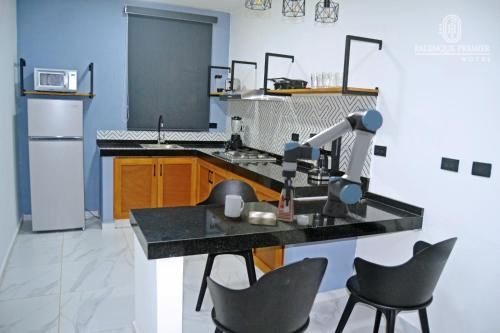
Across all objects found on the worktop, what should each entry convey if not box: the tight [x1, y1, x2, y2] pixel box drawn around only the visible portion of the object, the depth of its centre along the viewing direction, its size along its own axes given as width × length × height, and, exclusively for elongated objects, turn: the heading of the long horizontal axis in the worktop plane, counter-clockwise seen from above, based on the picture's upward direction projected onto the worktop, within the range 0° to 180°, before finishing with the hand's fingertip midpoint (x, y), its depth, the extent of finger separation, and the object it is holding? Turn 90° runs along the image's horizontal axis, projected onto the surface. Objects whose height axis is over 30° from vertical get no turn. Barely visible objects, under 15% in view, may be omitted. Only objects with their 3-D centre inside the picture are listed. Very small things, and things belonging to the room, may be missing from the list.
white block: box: [296, 214, 310, 226], centre depth 222 cm, size 6×6×4 cm
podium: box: [248, 211, 277, 226], centre depth 221 cm, size 14×14×3 cm
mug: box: [224, 194, 245, 218], centre depth 229 cm, size 9×12×11 cm
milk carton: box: [275, 187, 295, 222], centre depth 229 cm, size 9×9×20 cm
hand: (285, 209), depth 229 cm, fingers closed on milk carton, 9 cm apart
